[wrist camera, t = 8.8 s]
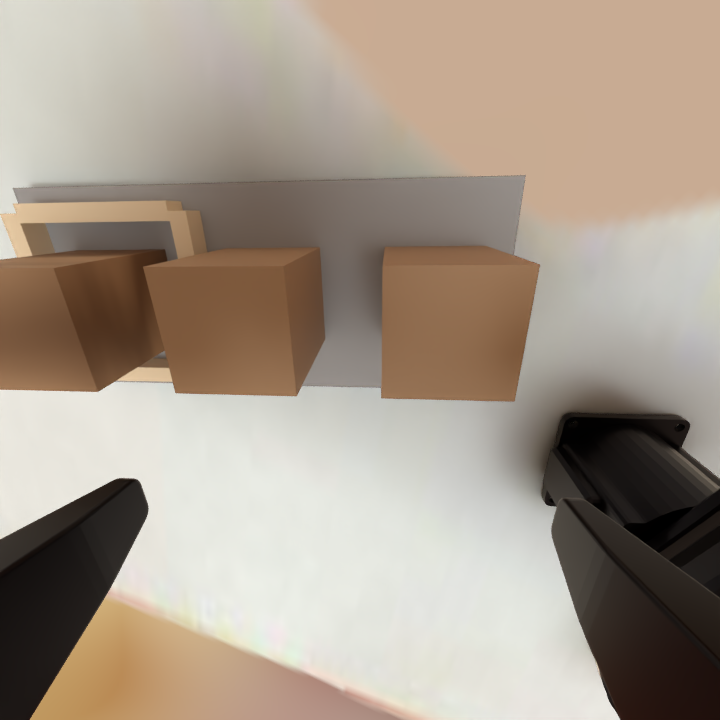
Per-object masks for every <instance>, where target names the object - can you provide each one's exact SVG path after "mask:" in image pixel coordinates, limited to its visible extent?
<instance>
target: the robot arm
mask: <svg viewBox="0 0 720 720" xmlns="http://www.w3.org/2000/svg"><path fill="white" fill-rule="evenodd" d="M571 421H574V423H572V424H569V423H570V422H571ZM678 424H679V425H678ZM676 425H678V426H676ZM675 426H676V427H675ZM689 428H690V423H689V422H688V421H687V420H685V419H684V418H682V417H681V416H668V415H630V414H593V413H568V414H566V415H564V416H563V417H562V419H561V421H560V425H559V429H558V433H557V437H556V441H555V445H554V447H553V448H552V449H551V451H550V455H549V459H548V463H547V467H546V471H545V475H544V479H543V483H544V488H543V492H542V498H543V500H544V502H545V504H546V505H548V506H557V509H556V512H555V516H554V520H553V523H552V529H551V532H552V538H553V542H554V545H555V548H556V551H557V554H558V557H559V561H560V564H561V567H562V570H563V573H564V576H565V579H566V582H567V586H568V589H569V592H570V595H571V598H572V601H573V604H574V607H575V610H576V613H577V616H578V619H579V622H580V625H581V627H582V630H583V632H584V635H585V637H586V639H587V642H588V644H589V646H590V649H591V651H592V654H593V656H594V658H595V661H596V663H597V665H598V668H599V672H600V676H601V679H602V682H603V685H604V688H605V690H606V693H607V696H608V699H609V702H610V703H611V705H612V707H613V708H614V709H615V711H616V712H617V714H618V716H619V718H620V720H720V479H719V478H718V477H717V476H716V475H714V474H713V473H712V472H711V471H709V470H708V469H707V468H706V467H704V466H703V465H702V464H701V463H700V462H698V461H697V460H696V459H695V458H693V457H692V456H691V455H690V454H688V453H687V452H686V451H685V450H683V449H682V448H681V447H682V445H683V442H684V440H685V438H686V435H687V433H688V431H689ZM147 515H148V503H147V500H146V497H145V494H144V492H143V489H142V486H141V483H140V482H139V481H138V480H137V479H130V478H119V479H115V480H113V481H111V482H109V483H108V484H106V485H104V486H102V487H100V488H98V489H96V490H94V491H92V492H90V493H88V494H86V495H85V496H83V497H81V498H79V499H77V500H75V501H73V502H71V503H69V504H67V505H65V506H63V507H61V508H60V509H58V510H56V511H54V512H52V513H50V514H48V515H46V516H44V517H42V518H40V519H38V520H37V521H35V522H33V523H31V524H29V525H27V526H25V527H23V528H21V529H19V530H17V531H15V532H14V533H12V534H10V535H8V536H6V537H4V538H2V539H0V720H30V718H31V717H32V715H33V713H34V712H35V710H36V708H37V707H38V705H39V704H40V702H41V700H42V699H43V697H44V695H45V694H46V692H47V691H48V689H49V687H50V686H51V684H52V683H53V681H54V679H55V677H56V676H57V674H58V673H59V671H60V670H61V668H62V666H63V665H64V663H65V661H66V660H67V658H68V657H69V655H70V653H71V652H72V650H73V649H74V647H75V645H76V644H77V642H78V640H79V639H80V637H81V636H82V634H83V632H84V631H85V629H86V627H87V626H88V624H89V623H90V621H91V619H92V618H93V616H94V615H95V613H96V611H97V610H98V608H99V606H100V605H101V603H102V602H103V600H104V598H105V596H106V595H107V593H108V591H109V590H110V588H111V586H112V584H113V582H114V580H115V579H116V577H117V575H118V573H119V571H120V569H121V567H122V565H123V563H124V561H125V559H126V557H127V555H128V553H129V551H130V549H131V547H132V545H133V543H134V541H135V539H136V537H137V535H138V534H139V532H140V530H141V528H142V526H143V524H144V522H145V520H146V518H147Z"/></svg>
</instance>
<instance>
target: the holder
mask: <svg viewBox="0 0 720 720" xmlns="http://www.w3.org/2000/svg"><path fill="white" fill-rule="evenodd" d="M524 183H525V175H520V176H481V177H440V178H399V179H359V180H318V181H278V182H238V183H197V184H157V185H116V186H76V187H36V188H13V190H14V193H15V196H16V198H17V201H18V204H13V205H14V208H15V211H16V213H17V214H0V215H1V218H2V220H3V223H4V225H5V228H6V230H7V233H8V235H9V238H10V240H11V243H12V246H13V248H14V251H15V253H16V256H17V258H19V257H27V256H35V255H43V254H51V253H59V252H67V251H75V250H145V249H165V251H166V256H167V260H168V261H167V262H162V263H158V264H153V265H149V266H144V267H143V269H144V273H145V277H146V280H147V284H148V288H149V292H150V296H151V300H152V304H153V308H154V311H155V315H156V319H157V323H158V327H159V331H160V335H161V339H162V342H163V346H164V350H165V351H163V352H161V353H160V354H158V355H157V356H155V357H153V358H152V359H150V360H149V361H147V362H145V363H144V364H142V365H140V366H139V367H137V368H136V369H134V370H132V371H131V372H129V373H128V374H126V375H124V376H123V377H121V378H119V379H118V380H116V381H115V382H152V383H173V385H174V389H175V393H189V394H230V395H271V396H297V394H298V392H299V390H300V389H301V387H302V386H333V387H378V388H381V398H393V399H434V400H474V401H515V396H516V391H517V386H518V380H519V375H520V369H521V364H522V359H523V353H524V348H525V342H526V337H527V332H528V326H529V321H530V315H531V310H532V305H533V299H534V294H535V288H536V283H537V278H538V272H539V267H540V265H539V264H536V263H534V262H531V261H528V260H525V259H522V258H519V257H517V256H514V255H513V254H514V248H515V241H516V235H517V228H518V222H519V215H520V209H521V202H522V196H523V189H524Z"/></svg>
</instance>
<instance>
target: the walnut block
mask: <svg viewBox="0 0 720 720" xmlns="http://www.w3.org/2000/svg"><path fill="white" fill-rule="evenodd" d="M167 261H168V260H167V256H166V251H165V249H145V250H75V251H67V252H59V253H51V254H43V255H35V256H27V257H19V258H11V259H3V260H0V389H1V390H44V391H86V392H98V391H100V390H102V389H103V388H105V387H107V386H108V385H110V384H111V383H113V382H115V381H116V380H118V379H119V378H121V377H123V376H124V375H126V374H128V373H129V372H131V371H132V370H134V369H136V368H137V367H139V366H140V365H142V364H144V363H145V362H147V361H149V360H150V359H152V358H153V357H155V356H157V355H158V354H160V353H161V352H163V351H165V350H164V346H163V342H162V339H161V335H160V331H159V327H158V323H157V319H156V315H155V311H154V308H153V304H152V300H151V296H150V292H149V288H148V284H147V280H146V277H145V273H144V269H143V267H144V266H149V265H153V264H158V263H162V262H167Z"/></svg>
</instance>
